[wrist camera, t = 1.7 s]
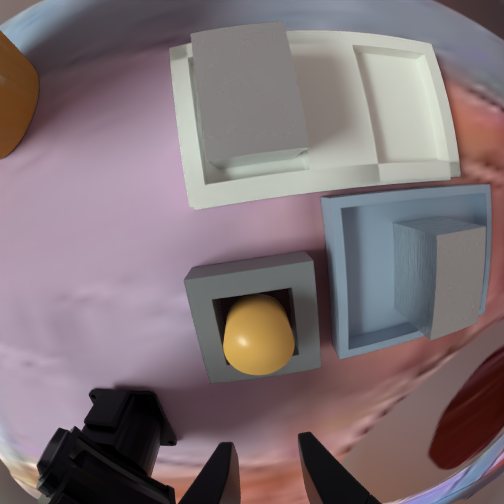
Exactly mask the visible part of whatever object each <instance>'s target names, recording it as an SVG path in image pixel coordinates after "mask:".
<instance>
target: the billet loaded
mask: <svg viewBox="0 0 504 504" xmlns="http://www.w3.org/2000/svg"><path fill="white" fill-rule="evenodd" d="M190 35H191V44H192V52H193V61H194V69H195V77H196V84H197V92H198V100H199V107H200V114H201V122H202V129H203V136H204V142H205V149H206V156H207V162H209V163H210V164H212V165H213V166H215V167H216V168H217V169H219V170H221V169H227V168H233V167H239V166H246V165H252V164H259V163H267V162H274V161H282V160H290V159H292V158H294V157H295V156H297V155H298V154H300V153H301V152H303V151H305V150H306V149H308V148H309V147H310V146H309V140H308V134H307V128H306V122H305V117H304V112H303V106H302V101H301V96H300V91H299V86H298V82H297V77H296V72H295V68H294V63H293V59H292V55H291V51H290V46H289V42H288V38H287V34H286V30H285V26H284V23H283V22H272V23H258V24H248V25H239V26H231V27H224V28H218V29H212V30H206V31H201V32H196V33H191V34H190Z"/></svg>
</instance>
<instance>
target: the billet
mask: <svg viewBox="0 0 504 504" xmlns="http://www.w3.org/2000/svg"><path fill="white" fill-rule="evenodd" d="M392 225H393V244H394V309H395V310H396V311H397V312H399V313H400V314H401V315H402V316H403V317H404V318H405V319H406V320H408V321H409V322H410V323H411V324H412V325H413V326H414V327H415V328H417V329H418V330H419V331H420V332H421V333H422V334H423V335H424V336H425V337H426V338H427V339H429V340H430V341H432V340H434V339H437V338H440V337H443V336H445V335H448V334H451V333H453V332H456V331H458V330H461V329H463V328H466V327H468V326H471V325H473V324H476V323H477V321H478V315H479V309H480V302H481V294H482V286H483V276H484V263H485V243H486V227H485V226H480V225H476V224H472V223H467V222H463V221H458V220H454V219H449V218H444V217H439V216H437V217H430V218H423V219H416V220H408V221H401V222H394V223H392Z"/></svg>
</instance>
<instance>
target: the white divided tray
mask: <svg viewBox="0 0 504 504" xmlns="http://www.w3.org/2000/svg"><path fill="white" fill-rule="evenodd" d="M286 34H287V38H288V42H289V46H290V51H291V55H292V59H293V63H294V68H295V72H296V77H297V82H298V86H299V91H300V96H301V101H302V106H303V112H304V117H305V122H306V128H307V134H308V140H309V146H310V147H309V148H308V149H306V150H305V151H303V152H301V153H300V154H298V155H297V156H295V157H294V158H292V159H290V160H282V161H274V162H267V163H259V164H252V165H246V166H239V167H233V168H227V169H221V170H219V169H217V168H216V167H215V166H213V165H212V164H210V163H209V162H207V156H206V149H205V142H204V136H203V129H202V122H201V114H200V107H199V100H198V92H197V84H196V77H195V69H194V61H193V52H192V44H191V43H189V44H184V45H180V46H176V47H172V48H169V55H170V66H171V76H172V86H173V95H174V104H175V112H176V120H177V128H178V136H179V143H180V150H181V157H182V164H183V171H184V177H185V184H186V190H187V196H188V202H189V207H194V210H198V209H204V208H210V207H216V206H222V205H228V204H234V203H240V202H247V201H253V200H260V199H267V198H274V197H281V196H288V195H296V194H304V193H311V192H320V191H328V190H337V189H346V188H355V187H365V186H376V185H387V184H398V183H411V182H425V181H442V180H451V177H460V176H461V172H460V163H459V155H458V148H457V142H456V136H455V130H454V125H453V120H452V115H451V111H450V106H449V102H448V98H447V94H446V90H445V86H444V83H443V79H442V76H441V72H440V69H439V66H438V63H437V60H436V57H435V54H434V51H433V48H432V45H431V44H428V43H424V42H419V41H414V40H409V39H404V38H398V37H391V36H384V35H377V34H368V33H357V32H344V31H286Z"/></svg>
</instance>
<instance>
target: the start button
mask: <svg viewBox="0 0 504 504" xmlns="http://www.w3.org/2000/svg"><path fill="white" fill-rule="evenodd" d="M294 347H295V342H294V337H293V334H292V331H291V327H290V324H289V321H288V318H287V315H286V312H285V309H284V307H283V306H282V305H281V303H280V302H279V301H277V300H276V299H275V298H273V297H271V296H268V295H265V294H250V295H247V296H244V297H242V298H240V299H239V300H237V301H236V302H235V303H234V304H233V305H232V306H231V308H230V310H229V312H228V315H227V321H226V328H225V335H224V343H223V349H224V354H225V357H226V359H227V360H228V362H229V363H230V364H231V365H232V366H233V367H234V368H236V369H237V370H239V371H241V372H243V373H246V374H250V375H266V374H270V373H273V372H275V371H277V370H279V369H281V368H282V367H283V366H285V365H286V364H287V363H288V361H289V360H290V358H291V357H292V355H293V352H294Z"/></svg>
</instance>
